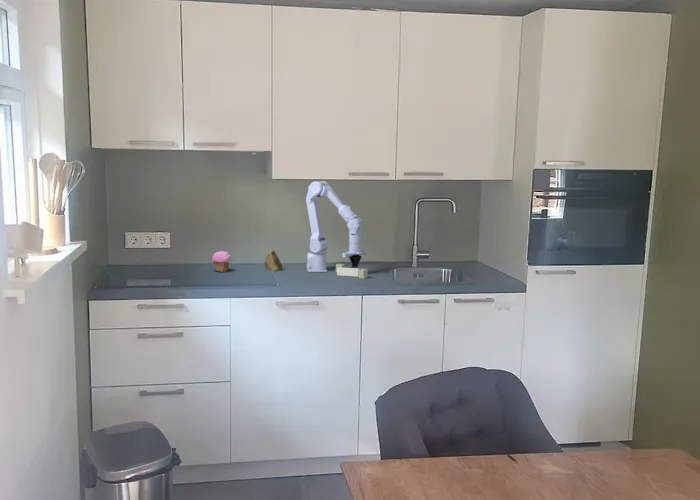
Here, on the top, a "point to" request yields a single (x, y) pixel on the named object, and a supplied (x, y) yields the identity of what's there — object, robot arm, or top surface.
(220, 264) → the cupcake
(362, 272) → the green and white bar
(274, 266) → the rock
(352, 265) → the block
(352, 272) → the door
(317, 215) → the robot arm
